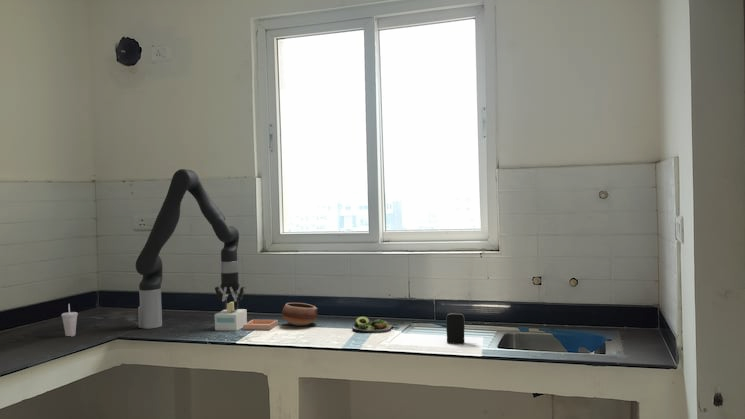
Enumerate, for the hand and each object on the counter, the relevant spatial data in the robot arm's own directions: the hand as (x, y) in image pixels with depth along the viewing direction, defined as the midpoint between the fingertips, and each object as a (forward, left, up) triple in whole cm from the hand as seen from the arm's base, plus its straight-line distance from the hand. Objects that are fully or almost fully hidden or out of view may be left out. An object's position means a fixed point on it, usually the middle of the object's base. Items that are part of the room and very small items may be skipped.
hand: (230, 309), depth 269 cm
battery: (+100, -20, -8) cm, 102 cm away
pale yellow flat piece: (0, 0, -6) cm, 6 cm away
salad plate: (+63, +2, -9) cm, 64 cm away
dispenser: (0, 0, -8) cm, 8 cm away
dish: (+13, +1, -8) cm, 16 cm away
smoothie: (-65, -20, -8) cm, 69 cm away
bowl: (+30, +6, -8) cm, 32 cm away
